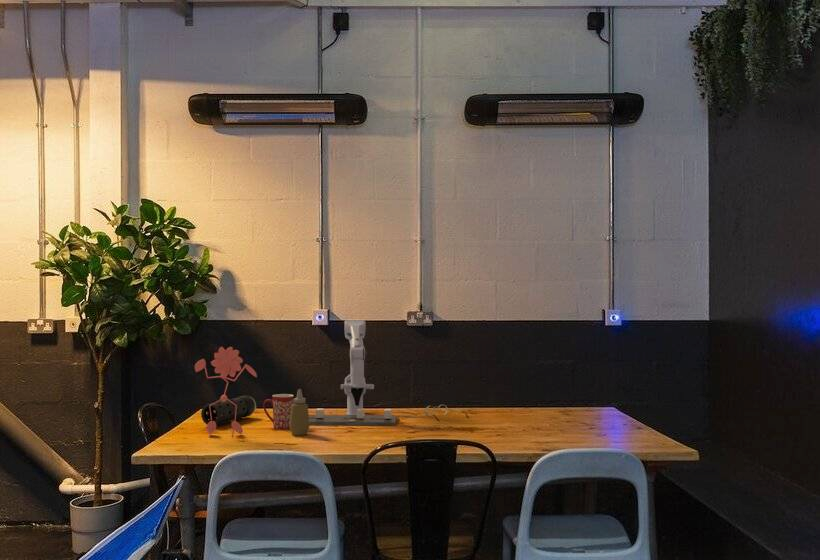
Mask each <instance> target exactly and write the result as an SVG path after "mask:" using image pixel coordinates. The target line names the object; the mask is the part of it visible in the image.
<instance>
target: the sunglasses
mask: <svg viewBox="0 0 820 560" xmlns="http://www.w3.org/2000/svg"><path fill="white" fill-rule="evenodd" d="M441 406H442V404H440V405H439V406H437V410H439V409H440V407H441ZM443 406H445V413H444V415H447V413H448V411H453V412H458V413H463V414H465V415H466V418H467V419H469V418H470V417H469V415H468V414H467V412H465V411H462V410H457V409H453V408H448V406H447V405H445V404H443ZM430 407H432V408H433V413H431V412H430V413H429V412H427V411H428V409H429V408H430ZM435 408H436V406H433V405H428V406H426V407H425V409H424V410H422V412H423V413H424V414H425V416H426V417H429V415H430V416H433V417H435V419H436V420H437V422H440V420H439V419H438V417H437V416H436V415H435V411H436V410H435ZM437 413H438V414H440V411H437Z"/></svg>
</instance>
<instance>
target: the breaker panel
mask: <svg viewBox="0 0 820 560" xmlns="http://www.w3.org/2000/svg"><path fill="white" fill-rule="evenodd" d="M397 420H398V415H396V414H395V415H394V414H392V417H391V419H384V414H382V415H381V414H380V415H379V414H378V415H377V414H373V415H372V414H365V417H364V418H357V415H345V414H324V417H323V418H316V414H309V424H310V426H350V427H351V426H355V427H356V426H358V427H361V426H363V427H364V426H365V427H366V426H370V427H373V426H376V427H395V425H396V423H397Z"/></svg>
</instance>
